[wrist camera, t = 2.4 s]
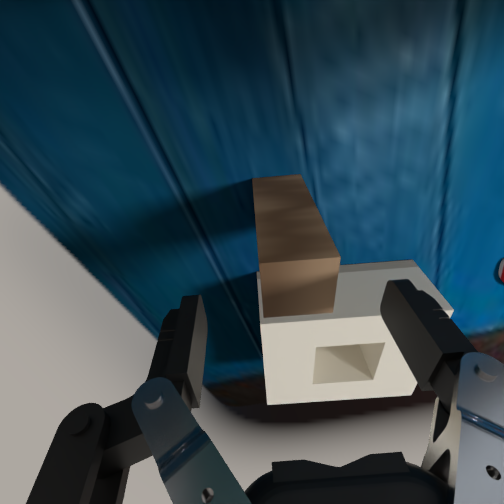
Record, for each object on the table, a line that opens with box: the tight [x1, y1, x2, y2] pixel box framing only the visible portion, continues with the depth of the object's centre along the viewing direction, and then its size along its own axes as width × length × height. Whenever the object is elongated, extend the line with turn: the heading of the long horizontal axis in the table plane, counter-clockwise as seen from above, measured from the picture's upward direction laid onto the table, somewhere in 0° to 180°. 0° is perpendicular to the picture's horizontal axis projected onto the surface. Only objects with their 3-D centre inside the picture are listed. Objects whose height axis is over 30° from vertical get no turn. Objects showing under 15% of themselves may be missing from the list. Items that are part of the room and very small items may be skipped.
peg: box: [252, 174, 341, 318], centre depth 17 cm, size 4×4×10 cm
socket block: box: [257, 260, 454, 405], centre depth 26 cm, size 14×12×6 cm
